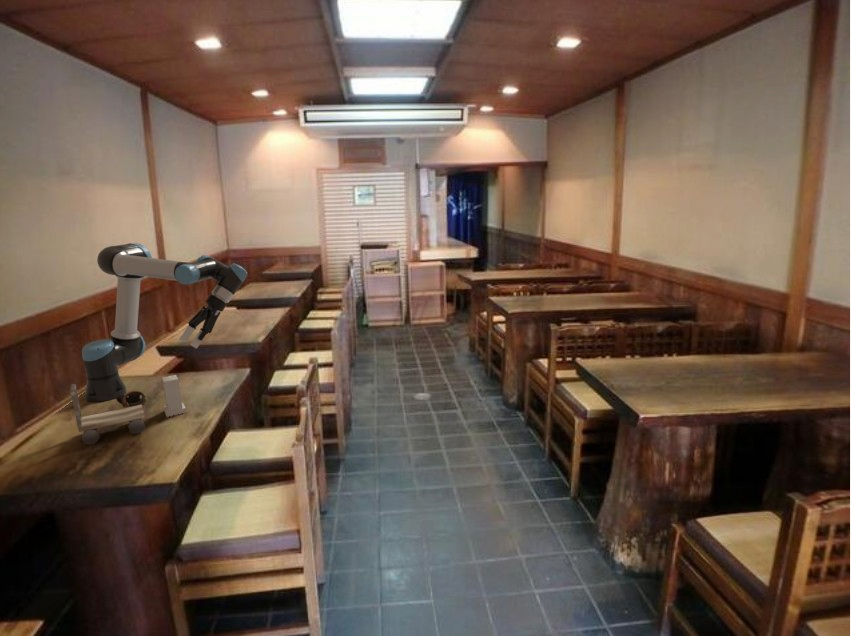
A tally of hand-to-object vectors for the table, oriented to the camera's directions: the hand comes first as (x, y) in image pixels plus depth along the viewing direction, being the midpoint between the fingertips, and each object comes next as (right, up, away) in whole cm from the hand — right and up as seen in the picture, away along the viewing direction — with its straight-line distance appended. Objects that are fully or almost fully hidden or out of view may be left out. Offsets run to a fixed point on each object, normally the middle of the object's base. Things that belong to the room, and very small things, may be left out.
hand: (187, 344), depth 204 cm
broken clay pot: (-24, -26, +6) cm, 36 cm away
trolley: (-19, -31, -16) cm, 40 cm away
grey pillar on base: (-5, -27, +1) cm, 27 cm away
